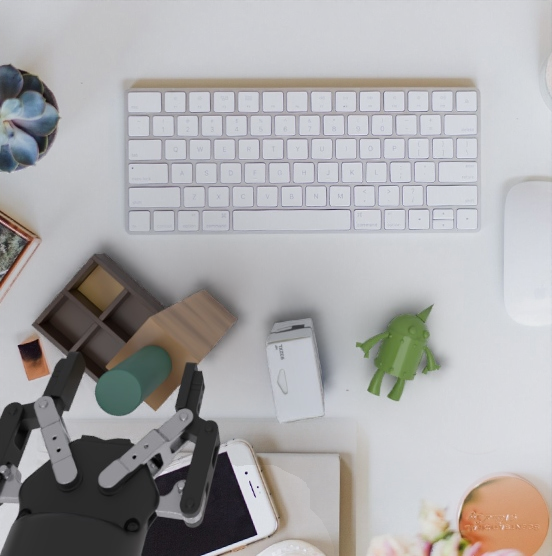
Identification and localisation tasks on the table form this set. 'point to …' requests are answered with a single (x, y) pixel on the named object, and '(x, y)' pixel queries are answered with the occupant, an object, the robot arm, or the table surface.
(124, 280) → the grid
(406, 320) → the character figure
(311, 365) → the ink box
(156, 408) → the pillar
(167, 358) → the green cylinder
